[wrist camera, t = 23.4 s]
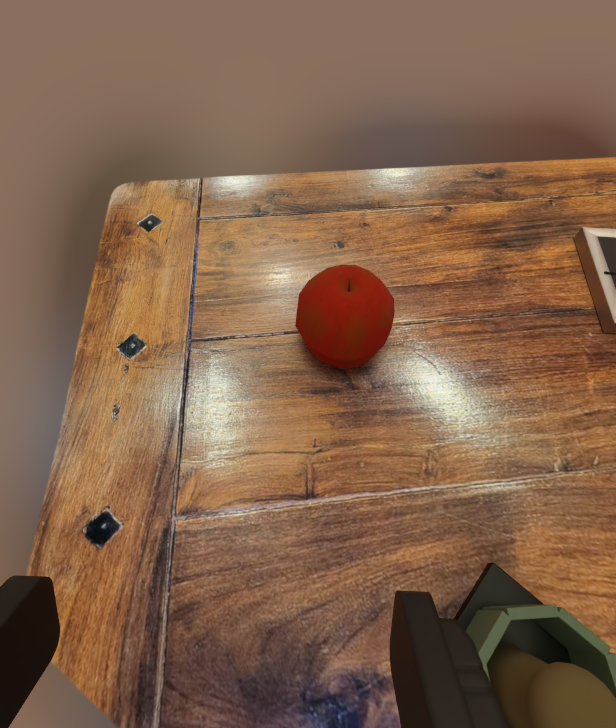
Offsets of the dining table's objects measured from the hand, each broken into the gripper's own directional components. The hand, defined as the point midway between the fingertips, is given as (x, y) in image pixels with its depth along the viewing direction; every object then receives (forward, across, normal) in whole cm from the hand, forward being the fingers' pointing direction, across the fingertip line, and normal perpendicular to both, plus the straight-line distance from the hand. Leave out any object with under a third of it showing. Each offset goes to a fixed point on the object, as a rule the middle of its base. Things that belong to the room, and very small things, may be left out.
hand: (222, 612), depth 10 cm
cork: (+18, -18, +25) cm, 35 cm away
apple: (+41, -5, +3) cm, 41 cm away
